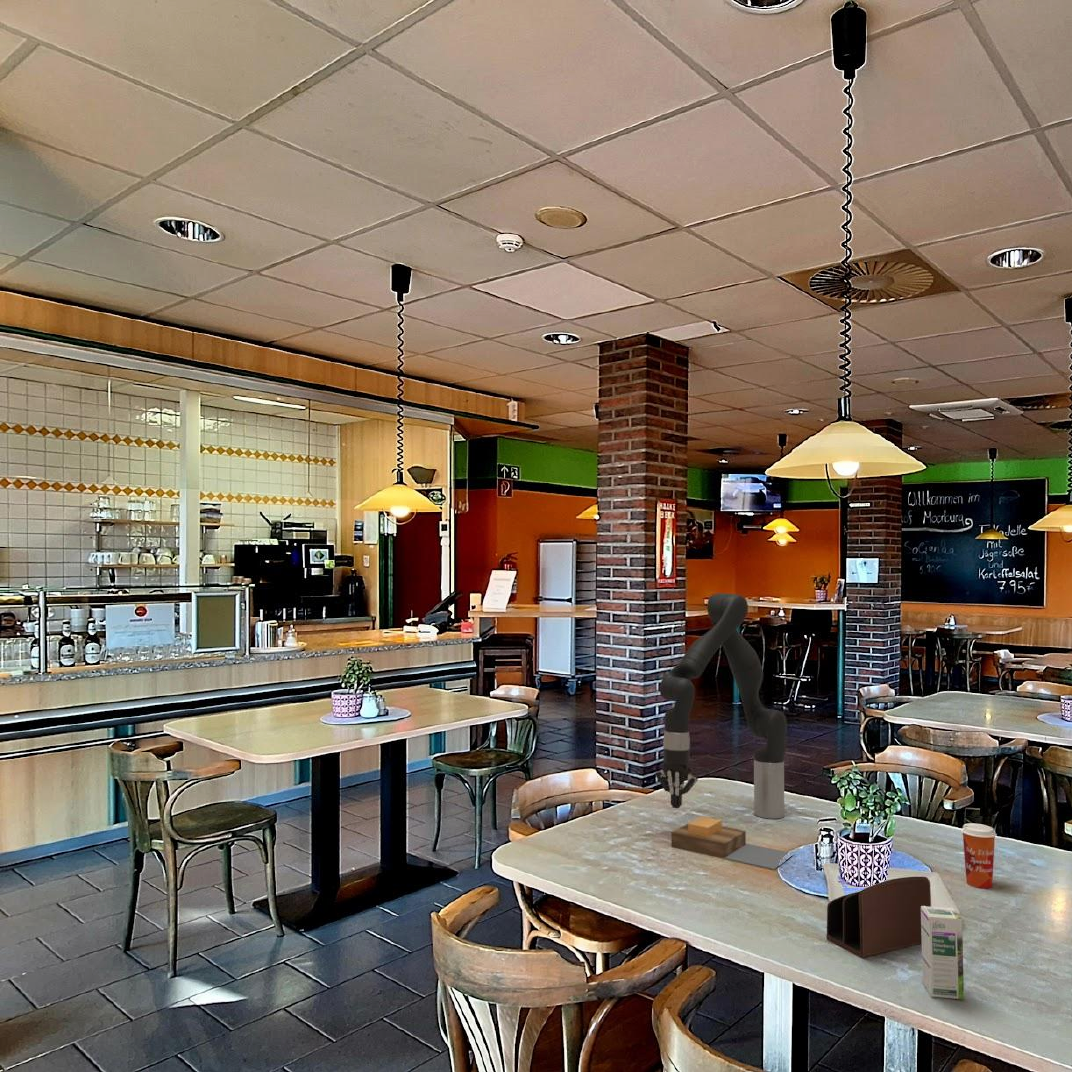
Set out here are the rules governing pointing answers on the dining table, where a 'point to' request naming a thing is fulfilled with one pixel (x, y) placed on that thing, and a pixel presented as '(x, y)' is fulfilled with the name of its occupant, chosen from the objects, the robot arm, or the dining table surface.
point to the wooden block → (709, 841)
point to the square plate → (937, 887)
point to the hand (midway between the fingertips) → (676, 807)
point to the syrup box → (942, 952)
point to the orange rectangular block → (705, 826)
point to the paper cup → (979, 854)
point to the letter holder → (879, 916)
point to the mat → (757, 856)
